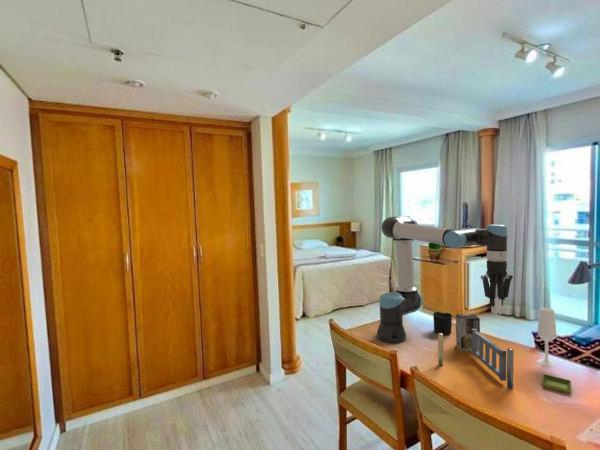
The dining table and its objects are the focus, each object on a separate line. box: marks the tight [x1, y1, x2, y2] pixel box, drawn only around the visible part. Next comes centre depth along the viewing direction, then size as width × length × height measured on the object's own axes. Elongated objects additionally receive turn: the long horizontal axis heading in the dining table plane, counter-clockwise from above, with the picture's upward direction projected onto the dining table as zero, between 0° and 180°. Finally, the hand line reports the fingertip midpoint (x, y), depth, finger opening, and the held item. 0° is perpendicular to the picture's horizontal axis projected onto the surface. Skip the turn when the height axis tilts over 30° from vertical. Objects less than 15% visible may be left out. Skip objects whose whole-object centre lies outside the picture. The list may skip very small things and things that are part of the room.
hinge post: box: [506, 348, 514, 390], centre depth 124 cm, size 2×2×15 cm
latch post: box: [437, 333, 444, 367], centre depth 143 cm, size 2×2×14 cm
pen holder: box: [432, 311, 453, 336], centre depth 179 cm, size 9×9×10 cm
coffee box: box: [455, 313, 481, 352], centre depth 158 cm, size 9×6×16 cm
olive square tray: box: [541, 373, 572, 394], centre depth 125 cm, size 9×9×2 cm
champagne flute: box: [536, 307, 557, 368], centre depth 141 cm, size 7×7×24 cm
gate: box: [471, 329, 507, 382], centre depth 138 cm, size 23×2×12 cm, turn 179°
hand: (496, 313), depth 142 cm, fingers closed
